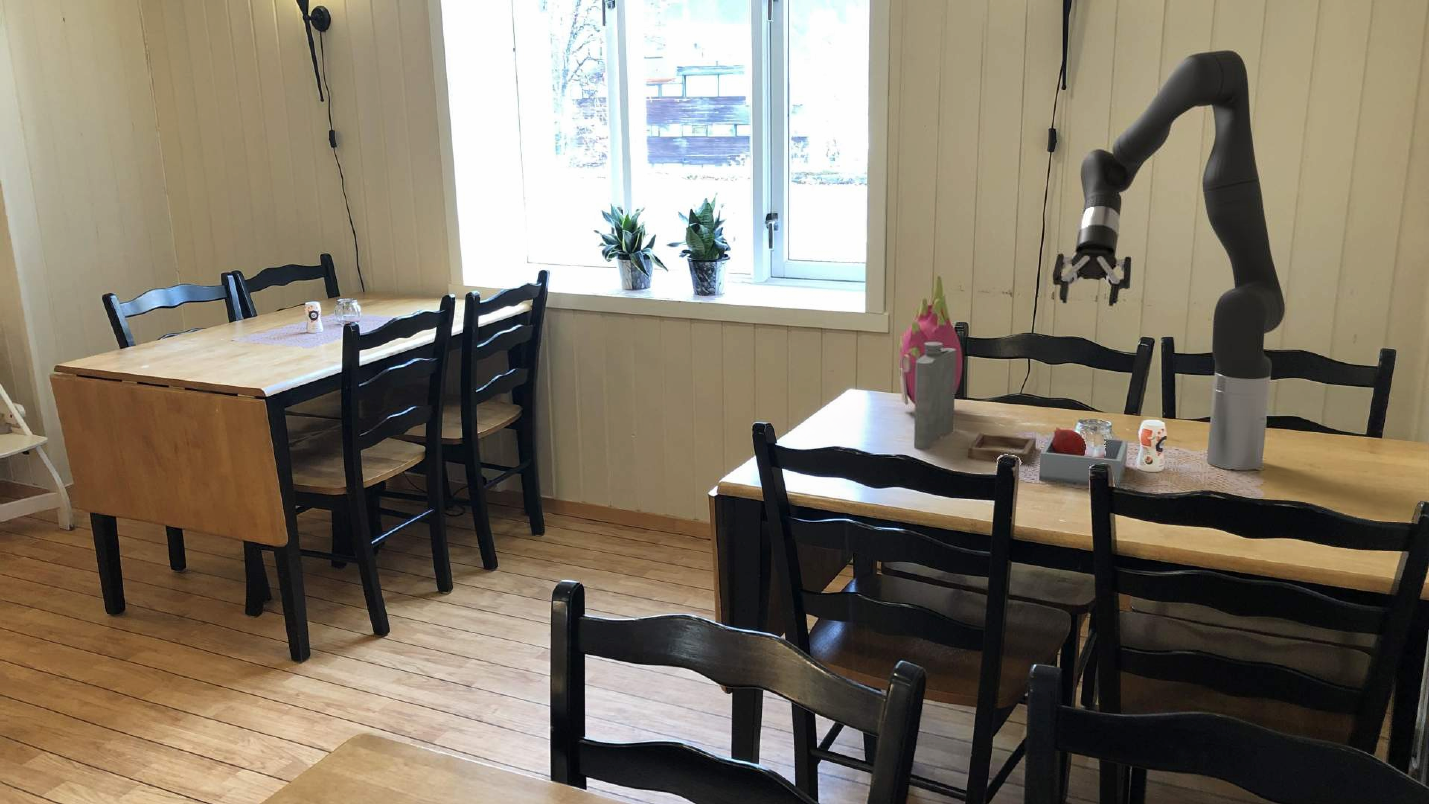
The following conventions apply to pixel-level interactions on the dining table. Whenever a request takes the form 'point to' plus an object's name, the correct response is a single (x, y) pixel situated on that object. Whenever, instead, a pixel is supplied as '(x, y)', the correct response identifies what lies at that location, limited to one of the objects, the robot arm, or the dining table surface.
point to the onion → (1068, 442)
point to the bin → (1081, 463)
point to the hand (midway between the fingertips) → (1087, 302)
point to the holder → (1001, 440)
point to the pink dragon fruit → (927, 328)
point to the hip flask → (934, 394)
